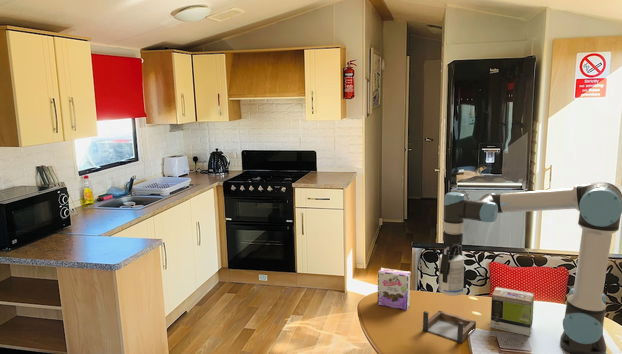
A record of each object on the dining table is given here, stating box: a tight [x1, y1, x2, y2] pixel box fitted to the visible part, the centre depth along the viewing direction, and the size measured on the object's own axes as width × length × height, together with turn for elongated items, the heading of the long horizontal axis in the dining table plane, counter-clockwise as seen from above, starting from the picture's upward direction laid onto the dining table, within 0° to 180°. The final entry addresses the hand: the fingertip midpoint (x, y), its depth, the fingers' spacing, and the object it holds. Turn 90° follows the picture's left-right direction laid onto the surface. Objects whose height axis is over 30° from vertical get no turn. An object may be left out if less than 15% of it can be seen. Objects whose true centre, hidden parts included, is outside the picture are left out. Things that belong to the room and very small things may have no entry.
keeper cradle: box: [422, 310, 477, 344], centre depth 193 cm, size 16×16×8 cm
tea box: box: [490, 286, 535, 337], centre depth 194 cm, size 15×10×15 cm, turn 59°
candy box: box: [377, 267, 412, 311], centre depth 214 cm, size 14×6×16 cm, turn 67°
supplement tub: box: [438, 253, 465, 297], centre depth 189 cm, size 10×10×15 cm
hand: (450, 285), depth 190 cm, fingers closed on supplement tub, 9 cm apart
